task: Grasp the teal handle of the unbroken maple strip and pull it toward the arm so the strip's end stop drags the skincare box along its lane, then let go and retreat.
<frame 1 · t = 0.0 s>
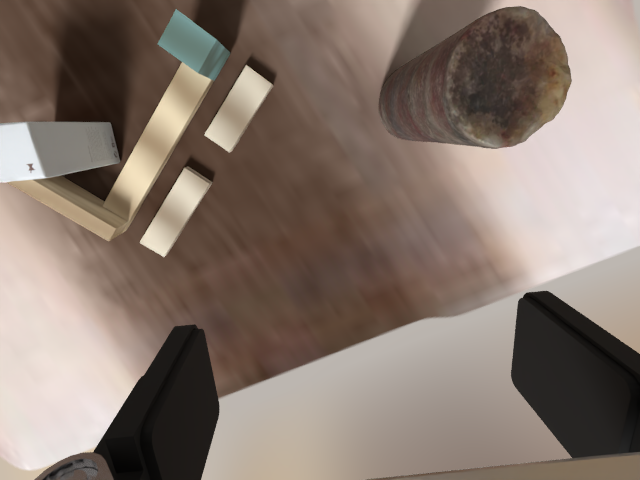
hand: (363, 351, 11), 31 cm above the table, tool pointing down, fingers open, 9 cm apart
broken strip: (205, 166, 39), on the table
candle: (410, 102, 39), on the table
skincare box: (88, 144, 38), on the table
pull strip: (110, 115, 34), point 4 cm above the table, slide at 0.0 cm
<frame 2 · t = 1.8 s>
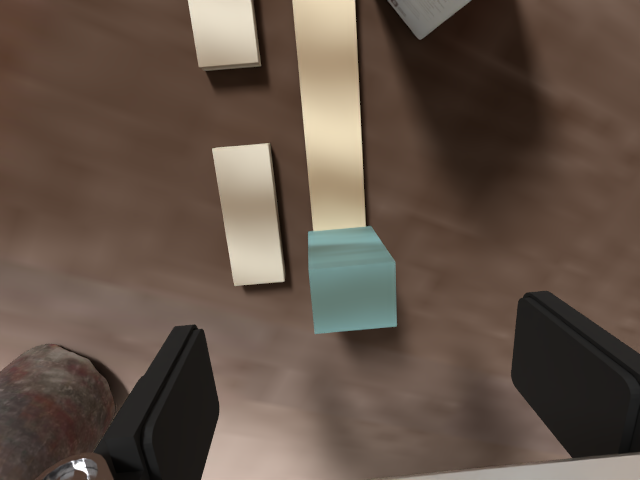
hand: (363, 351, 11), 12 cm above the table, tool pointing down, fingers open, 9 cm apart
broken strip: (235, 88, 20), on the table
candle: (71, 387, 25), on the table
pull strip: (418, 62, 16), point 4 cm above the table, slide at 0.0 cm
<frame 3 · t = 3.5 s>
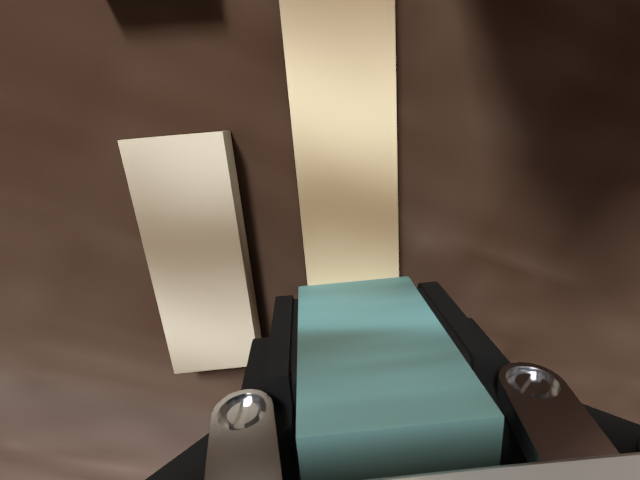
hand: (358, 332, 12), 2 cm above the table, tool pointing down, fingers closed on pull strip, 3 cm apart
broken strip: (162, 28, 11), on the table
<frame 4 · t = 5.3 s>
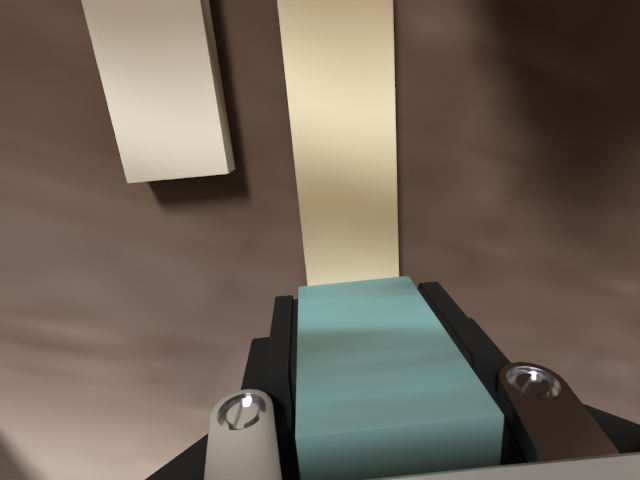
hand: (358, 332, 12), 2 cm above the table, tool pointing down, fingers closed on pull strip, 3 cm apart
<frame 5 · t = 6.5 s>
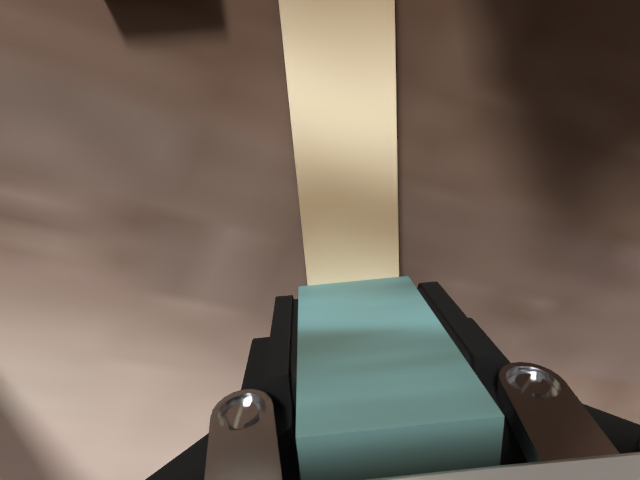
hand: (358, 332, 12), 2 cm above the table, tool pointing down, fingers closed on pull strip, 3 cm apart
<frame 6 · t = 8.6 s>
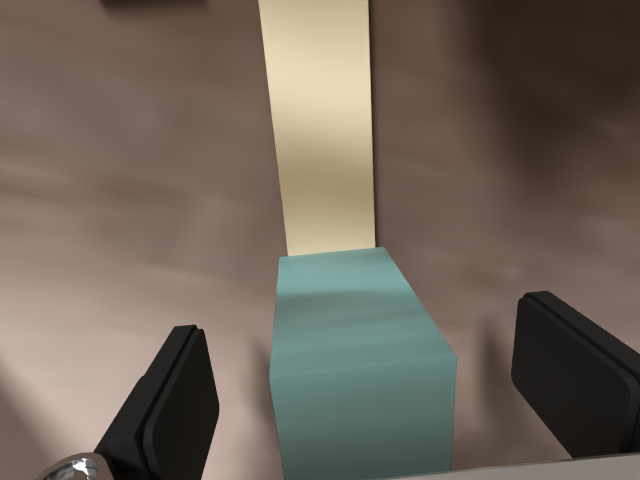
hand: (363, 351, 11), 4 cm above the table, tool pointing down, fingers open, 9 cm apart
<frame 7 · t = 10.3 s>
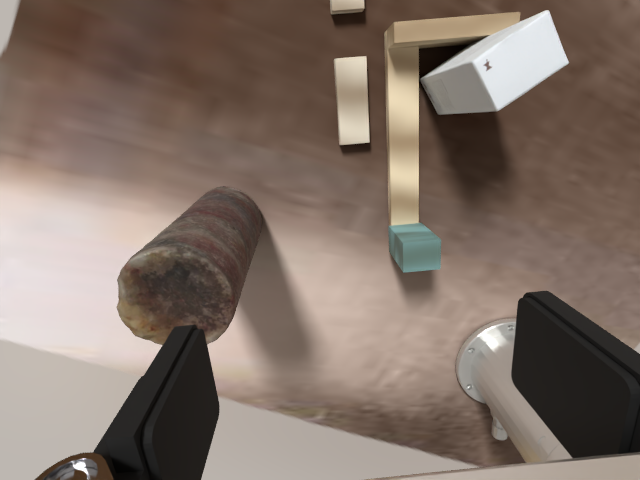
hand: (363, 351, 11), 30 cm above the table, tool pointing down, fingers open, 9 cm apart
broken strip: (347, 25, 35), on the table
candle: (231, 218, 41), on the table
skincare box: (453, 80, 37), on the table
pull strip: (450, 147, 35), point 4 cm above the table, slide at 12.0 cm
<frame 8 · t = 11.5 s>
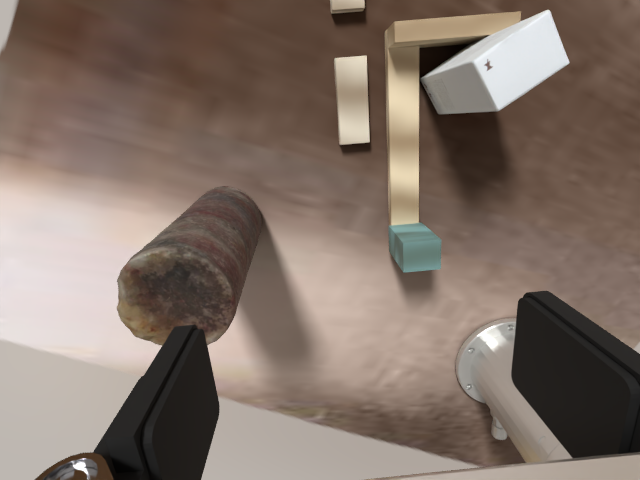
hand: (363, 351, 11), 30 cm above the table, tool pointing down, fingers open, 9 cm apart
broken strip: (347, 24, 35), on the table
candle: (230, 218, 41), on the table
skincare box: (453, 80, 37), on the table
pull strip: (450, 147, 35), point 4 cm above the table, slide at 12.0 cm
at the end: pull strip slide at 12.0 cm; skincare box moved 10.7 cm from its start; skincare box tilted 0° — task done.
